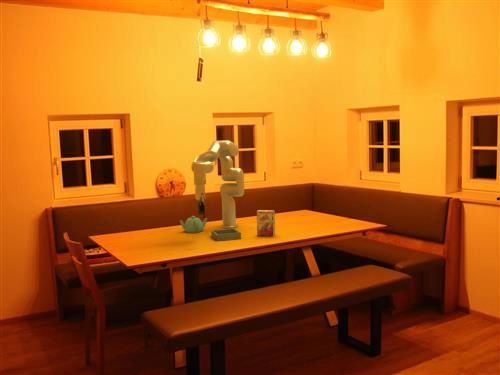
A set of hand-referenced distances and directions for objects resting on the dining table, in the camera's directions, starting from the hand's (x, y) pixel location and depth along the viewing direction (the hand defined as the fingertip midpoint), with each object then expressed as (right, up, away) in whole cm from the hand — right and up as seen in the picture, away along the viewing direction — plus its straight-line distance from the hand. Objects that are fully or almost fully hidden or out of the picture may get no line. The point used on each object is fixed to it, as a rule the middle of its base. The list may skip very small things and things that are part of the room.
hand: (201, 210), depth 329 cm
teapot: (-8, -16, +34) cm, 38 cm away
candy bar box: (+42, -17, +10) cm, 46 cm away
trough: (+15, -18, +7) cm, 25 cm away
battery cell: (0, -2, 0) cm, 2 cm away
